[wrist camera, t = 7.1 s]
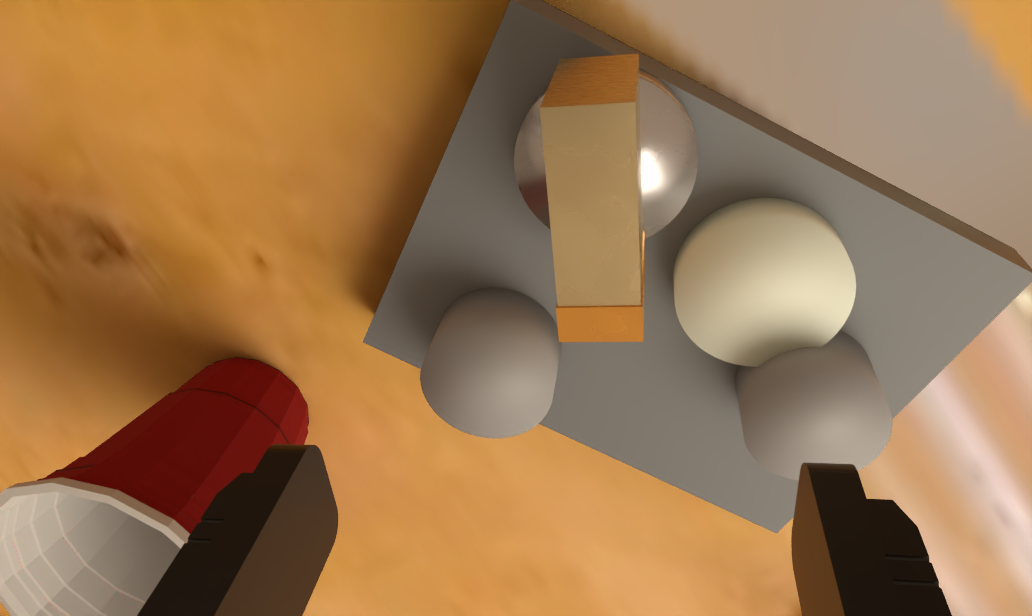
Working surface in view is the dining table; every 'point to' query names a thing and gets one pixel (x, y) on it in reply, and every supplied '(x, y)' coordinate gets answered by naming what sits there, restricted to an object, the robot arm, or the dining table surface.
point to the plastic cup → (140, 493)
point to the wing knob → (604, 186)
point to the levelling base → (668, 367)
